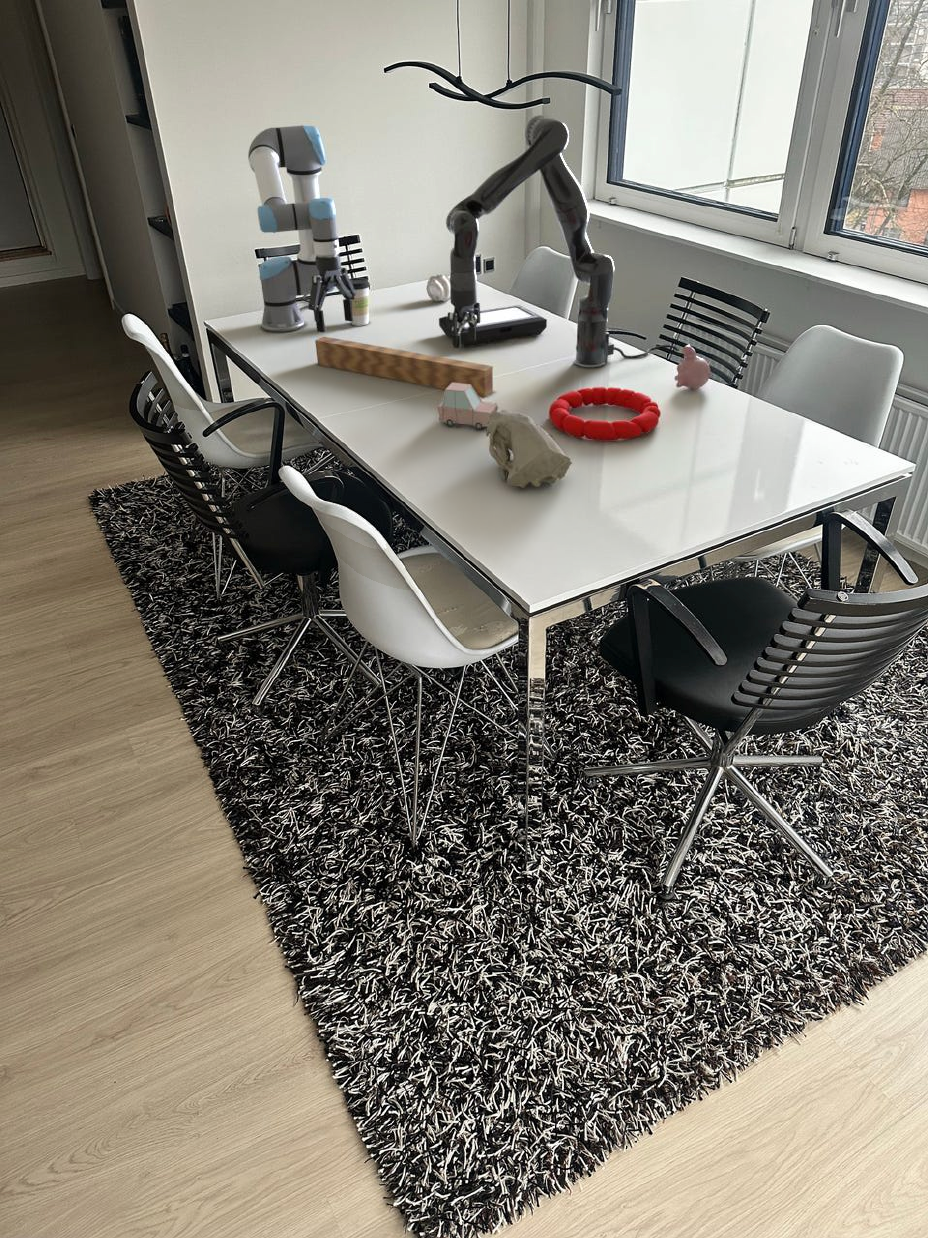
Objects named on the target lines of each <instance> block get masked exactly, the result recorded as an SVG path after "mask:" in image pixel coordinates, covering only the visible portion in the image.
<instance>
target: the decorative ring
mask: <svg viewBox="0 0 928 1238" xmlns="http://www.w3.org/2000/svg"><path fill="white" fill-rule="evenodd" d="M583 405H584V406H586V407H587V406H591V405H593V406H604V405H608V406H614V407H619V408H624V409H628V410H632V411H635V412H636V413H638V414H639V415H637V416H635V417H632V418H631V419H630V420H625V419H624V420H623V419H622V420H614V421H611V422H609V421H607V420H606V421H605V420H593V419H587V420H586V421H585V419H584V418H582V417H579V416H577V415H573V414H571V413H570V410H571V409H579V408H581V407H582V406H583ZM548 416H549V419H550V422H551V423H552V425H553V426H554V427H555V428H556V429H558V430H559V431H561V432H563V433H567V434H568V435H569V436H573V437H576V438H580V439H582V438H583V437H585V438H586V439H587V440H591V441H601V442H602V441H603V442H608V441H609V442H610V441H611V442H612V441H615V442H616V441H618V440H630V439H634V438H638V437H641V436H642V434H647V433H650V432H651V431H653V430H654V429H655V428H656V427H657V426H658V424H659V422H660V421H659V420H660V417H661V410H660V408H659V405H658V403H657V402H656V401H652V399H651V397H649V396H648V395H646V394H644V393H642V392H635V391H634V390H632V389H628V388H624V389H622V388H620V387H613V386H612V387H611V386H610V387H608V388H606V387H604V386H594V387H585V388H584V387H583V388H580V389H578V390H571V391H568V392H565V393H563V394H561V395H560V396H558V397H557V398H556V400H554V401H552V403H551V404H550V407H549V409H548Z"/></svg>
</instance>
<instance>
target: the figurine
mask: <svg viewBox="0 0 928 1238" xmlns="http://www.w3.org/2000/svg"><path fill="white" fill-rule="evenodd" d="M682 354H683V358H684V359H683V361H682V362H679V363H678V364H677V365H676V372H677V375H675V376H674V381H675V382H676V381H677V382H676V384H675V386H676V388H681V387H686V388H688V389H693V390H694V389H695V390H696V389H700V388H703V387H704V386H705V385H706V384H707V383H708V382H709V379H710V377H711V367H710V364H709V362H708V361H706V359H704V358H702V357H700V356H697V353H696V350H695V349H694V347H692V345H690V344H686V345H685V346H684V347H683V348H682Z"/></svg>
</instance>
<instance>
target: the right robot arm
mask: <svg viewBox="0 0 928 1238" xmlns="http://www.w3.org/2000/svg"><path fill="white" fill-rule="evenodd" d="M524 131H525V132H524V139H525V143H526V146H527V149H526V150H525V151H524V152H523V153H521V154H520V155H519V156H518V157H516V158H515V159H514V160H512V161H510V162H509V163H507V164H505V165H504V166H502V167H500V168H499V169H497V170H495V171H494V172H493V173H492V174H490V175H489V176H488V177H487V178H486V179H485V180H484V181H483V182H482V183H481V184H480V185H479V186H478V187H477V188H476V190H475V191H473V192H472V193H471V194H470V195H468V196H467V197H465V198H464V199H463V200H461V201H459V202H458V203H457V204H455V205H454V206H453V207H452V209H451V210H449V212H448V214H447V216H446V219H445V227H446V229H447V230H448V232H449V233H450V234H452V235H453V236H454V241H453V243H454V245H453V247H452V248H451V249H450V254H449V264H450V273H449V276H450V299H449V300H450V304H451V305H452V306H453V307H454V308H453V312H451V311H449V312H447V316H448V334H451V335H452V336H453V339H452V347H453V349H461V348H462V345H461V338H460V333H461V330H462V329H463V328H464V325H465V324H466V323H467V324H468V326H470V327H468V339H469V340H472V341H474V340H476V327H477V324H478V323H480V311H481V303H480V302H478V283H477V282H478V277H477V269H476V268H477V267H476V264H477V263H476V252H477V247H478V241H479V240H478V239H479V231H480V228H479V227H480V226H479V221H478V220H479V219H480V218H482V217H483V216H487V215H490V214H492V213H493V212H494V211H495V210H496V209H497V208H498V207H499V206H500V205H501V204H502V203H503V202H504V201H505V200H506V199H507V198H508V197H509V196H510V195H511V194H512V193H513V192H514V191H515V190H516V189H517V188H519V187H520V186H521V185H522V184H523V183H524V182H526V181H527V180H528V179H529V178H531V177H532V176H533V175H535V174H536V173H537V172H538V171H539V172H540V175H541V178H542V180H543V183H544V186H545V190H546V192H547V195H548V199H549V200H550V204H551V207H552V209H553V212H554V215H555V217H556V220H557V222H558V225H559V227H560V230H561V233H562V235H563V238H564V241H565V244H566V246H567V250H568V254H569V258H570V263H571V267H572V270H573V274H574V275H575V277H576V279H577V280H578V281H579V282H580V283H582V284H585V285H588V288H589V289H588V294H587V295H583V296H581V297H580V298H579V299H578V301H577V302H578V303H577V324H576V325H577V327H576V345H575V365H576V366H578V367H582V368H587V369H588V368H589V369H591V368H592V369H594V368H599V367H603V366H604V365H605V364H608V362H609V361H608V358H609V356H612V355H614V353H615V351H617V352H619V354H620V355H621V356H622V357H623V358H624V359H637V358H641V357H645V356H647V355H648V354H649V353H650V352H651V351H656V350H659V349H665V348H668V349H669V348H671V349H673V350H675V351H676V352H679V351H680V349H679V348H678V347H677V346H675V345H671V344H662V345H658V346H654V347H649V348H647V350H646V351H645V352H644V353H640V354H635V355H627V354H625V353H624V351H623V350H622V349H621V348H619V347H617V346H615V344H614V343H612V342H610V333H609V332H608V315H609V304H610V301H611V298H612V295H613V286H614V277H615V264H614V261H613V259H612V257H611V256H610V255H608V254H604V253H599V252H595V251H594V250H593V249H592V246H591V244H590V241H589V238H588V235H587V234H588V233H587V229H588V224H589V219H590V211H589V205H588V203H587V200H586V197H585V194H584V191H583V189H582V187H581V185H580V183H579V182H578V180H577V179H576V177H575V175H574V174H573V172H572V171H571V170H570V168H569V167H568V166H567V164H566V162H565V160H564V158H563V155H562V153H563V152H564V150H565V149H566V148H567V145H568V143H569V138H570V136H569V135H570V134H569V130H568V127H567V125H566V124H565V123H564V122H563V121H561V120H559V119H557V118H555V117H551V116H549V115H545V114H537V115H534V116H533V117H531V118H530V119H529V121H528V122H527V124H526V126H525V130H524ZM475 315H476V316H477V319H476V317H475ZM457 322H458V324H457ZM451 326H453V327H452V330H451ZM457 328H458V331H457Z"/></svg>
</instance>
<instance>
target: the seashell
mask: <svg viewBox="0 0 928 1238" xmlns="http://www.w3.org/2000/svg"><path fill="white" fill-rule="evenodd" d="M426 292H427V295H428V297H429V298H430V299H431V300H432V301H435V302H440V301H441V302H442V301H443V302H445V301H449V300H450V274H449V275H447V274H436V275H431V276H430V277H429V279H428V281H427V284H426Z"/></svg>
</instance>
